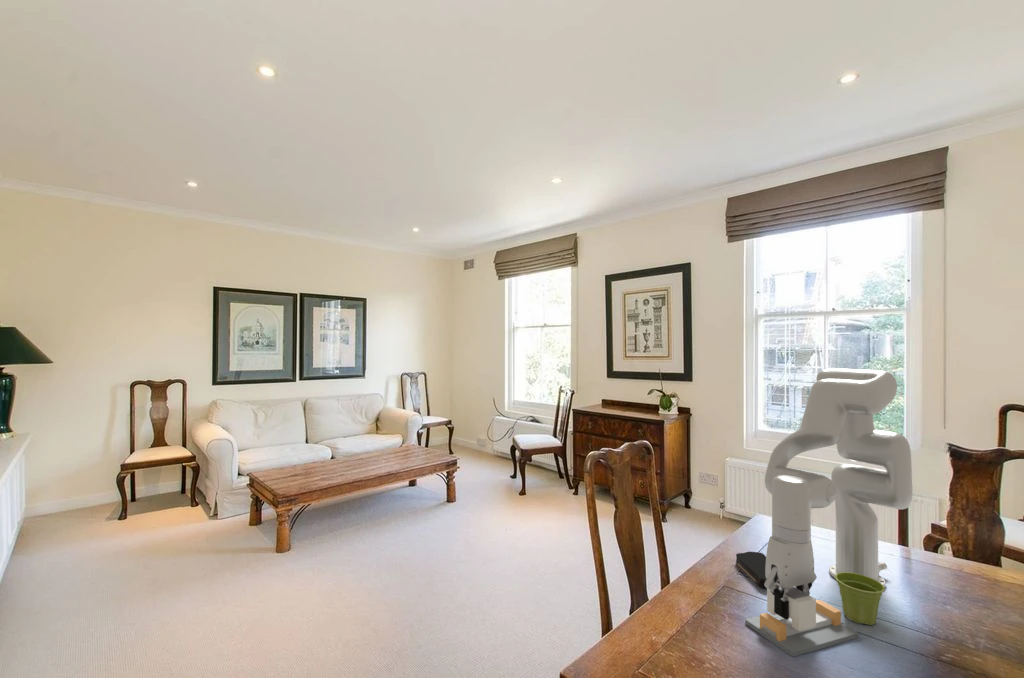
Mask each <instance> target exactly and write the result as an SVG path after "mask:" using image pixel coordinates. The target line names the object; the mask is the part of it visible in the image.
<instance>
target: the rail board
mask: <svg viewBox="0 0 1024 678" xmlns="http://www.w3.org/2000/svg"><path fill="white" fill-rule="evenodd" d="M744 622H745V625H747V626H748V627H750V628H751V629H753V630H754V631H755V632H756V633H758V634H759V635H761V636H762V637H764V638H765V639H767V640H768V641H770V642H771V643H772V644H774V646H777V647H778V648H779V649H781V650H782V651H784V653H787V654H788V655H789V656H791V657H792V658H794V657H797V656H801V655H805V654H807V653H811V652H814V651H818V650H821V649H824V648H828V647H830V646H831V647H832V646H835V645H838V644H841V643H846V642H848V641H852V640H855V639H858V638H859V636H860V633H859V632H858V631H856V630H854V629H852V628H850V627H849V626H847V625H845V624H844V623H842V611H841V610H839V609H838V608H836V607H835V606H833V605H830V604H829V603H827V602H825V601H824V600H821V599H816V627H814V628H810V629H806V630H802V631H798V630H796V629H795V628H793V627H792V619H791V618H789V619H787V620H786V619H784V618H782V617H781V616H779V615H778V614H776V615H773V614H771V613H770V612H763V613H760V614H759V615H758V616H757V615H756V616H753V617H749V618H745V620H744Z"/></svg>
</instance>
